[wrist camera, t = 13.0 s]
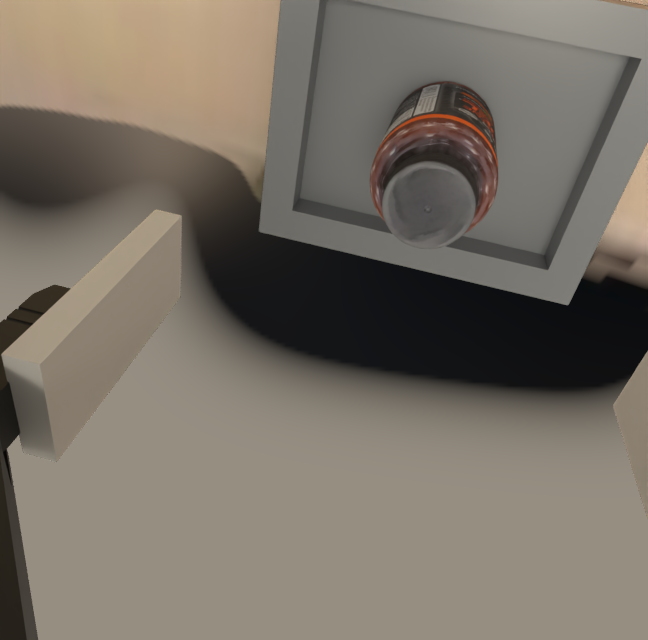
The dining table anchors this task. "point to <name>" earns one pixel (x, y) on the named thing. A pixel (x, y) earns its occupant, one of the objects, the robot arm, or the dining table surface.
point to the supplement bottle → (436, 166)
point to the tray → (507, 112)
